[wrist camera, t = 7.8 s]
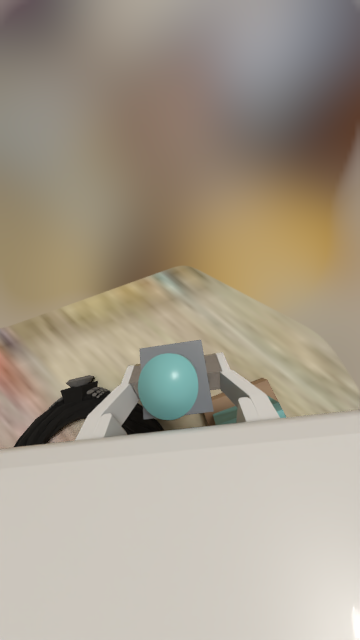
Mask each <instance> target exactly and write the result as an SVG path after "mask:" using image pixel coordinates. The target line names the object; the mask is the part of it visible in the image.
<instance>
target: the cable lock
mask: <svg viewBox="0 0 360 640" xmlns="http://www.w3.org/2000/svg"><path fill="white" fill-rule="evenodd" d="M93 378H94V376H90V375H89V376H84V377H80V378H76V379H72V380H69V381H68V382H67V383H66V384H67V385H69V386H70V387H71V388H68V389H65V390H61V394H62V397H61V398H59V399H58V400H57V401H56V402H55V403H54V404H53V405H51V407H49V410H47V411H46V412H45V413H43V414H42V415H41V416H39V417H38V418H37V419H35V421H34V422H33V423H32V424H31V425H30V426H29V428H28V429H27V430H26V431H25V432H24V433H23V435H22V436H21V437H20V438H19V439H18V441H17V443H16V444H15V446H14V447H21V446H30V445H39V444H46V442H47V441H48V440H49V439H50V437H52V436H53V435H54V434H55V433H56V432H57V431H58V430H59V429H61V428H62V427H63V426H65V425H67V424H69V423H71V422H73V421H76V420H80V419H86V418H87V416H88V415H89V414H90V413H91V412H92V411H93V410H94V409H95V408H96V407H97V406H98V405H99V404H100V403H101V402H102V401H103V400H104V399H105V398H106V397H107V396H108V395H109V394H110V391H109V390H107V389H104V388H100V387H97V383H98V381H96V382H91V381H92V379H93ZM122 428H123V429H124V430H125V431H126V433H127V435H131V434H140V433H149V432H158V431H164V430H163V428H162V427H161V426H160V424H159V423H158V421H157V420H155V419H154V418H153V419H144V418H143V407H142V406H141V405H139V404H138V403H137V404H136V405H135V407H134V408H133V410H132V411H131V413H130V414H129V416H128V417H127V418H126V420H125V421H124V423H123V424H122Z"/></svg>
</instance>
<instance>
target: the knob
mask: <svg viewBox="0 0 360 640" xmlns="http://www.w3.org/2000/svg"><path fill="white" fill-rule="evenodd" d="M140 364H141V373H140V376H139V380H138V393H139V397H140V400H141V402H142V404H143V418H144V419H153V418H159V419H162V420H174V419H177V418H180V417H182V416H183V415H188V414H197V413H206V412H214V410H213V405H212V399H211V393H210V388H209V382H208V376H207V371H206V365H205V359H204V354H203V348H202V342H201V340H196V341H189V342H182V343H175V344H168V345H162V346H155V347H148V348H141V349H140Z"/></svg>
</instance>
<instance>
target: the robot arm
mask: <svg viewBox="0 0 360 640" xmlns="http://www.w3.org/2000/svg"><path fill="white" fill-rule="evenodd" d="M204 359H205V365H206V371H207V376H208V382H209V388H210V390H216V389H221V391H222V392H223V393H224V394H225V395H226V396H227V397H228V398H229V399H230V400H231V401H232V403H233V404H234V405H235V406H236V407H237V408H238V409H237V420H236V422H237V423H232V424H223V425H214V426H204V427H195V428H186V429H177V430H167V431H158V432H149V433H140V434H131V435H126V434H127V433H126V431H125V430H124V429H123V428H122V424H123V423H124V421H125V420H126V418H127V417H128V416H129V414H130V413H131V411H132V410H133V408H134V407H135V405H136V404H137V402H138V401H139V399H140V397H139V393H138V380H139V376H140V373H141V364H136V365H129V366H128V367H127V370H126V372H125V375H124V377H123V380H122V382H121V385H118V386H117V387H116V388H115V389H114V390H113V391H112V392H111V393H110V394H109V395H108V396H107V397H106V398H105V399H104V400H103V401H102V402H101V403H100V404H99V405H98V406H97V407H96V408H95V409H94V410H93V411H92V412H91V413H90V414H89V415H88V416H87V418H86V420H85V422H84V424H83V426H82V428H81V430H80V432H79V434H78V435H77V437H76V439H75V441H67V442H58V443H48V444H39V445H30V446H21V447H12V448H2V449H0V640H360V410H351V411H342V412H333V413H324V414H314V415H305V416H296V417H287V418H280V417H279V415H278V413H277V412H276V410H275V408H274V407H273V405H272V403H271V402H270V400H269V398H268V397H267V395H266V394H265V393H264V392H262V391H261V390H260V389H258V388H257V387H256V386H254V385H253V384H251V383H250V382H249V381H247V380H246V379H244V378H243V377H242V376H240V375H239V374H238V373H236V372H235V371H233V370H230V368H229V365H228V363H227V361H226V358H225V356H224V354H223V353H222V352H221V353H216V354H215V353H214V354H208V355H204Z"/></svg>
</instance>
